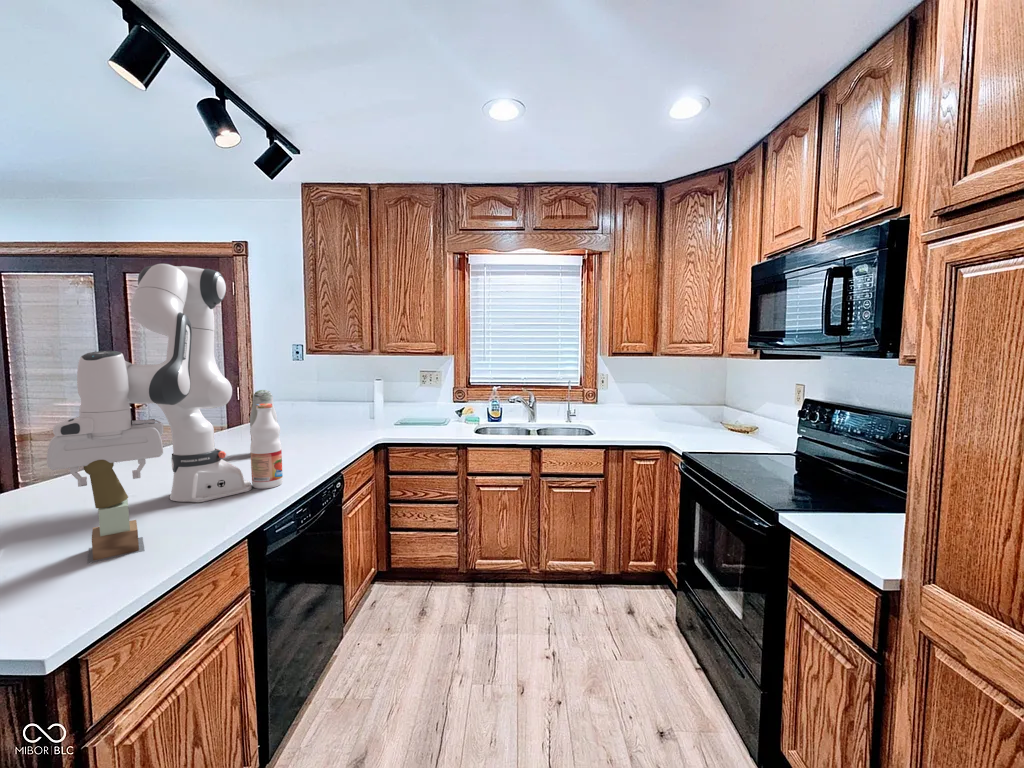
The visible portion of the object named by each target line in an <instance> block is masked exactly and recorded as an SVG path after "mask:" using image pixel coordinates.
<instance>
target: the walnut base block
mask: <svg viewBox="0 0 1024 768" xmlns="http://www.w3.org/2000/svg"><path fill="white" fill-rule="evenodd" d="M129 523H130V531H125V532H120V533H115V534H110V535H105V536H100V527H99V526H95V527H92V532H91V548H92V550H93V561H94V560H99V559H103V558H108V557H112V556H117V555H121V554H126V553H130V552H135V551H139V543H138V538H139V531H138V522H137V519H133V520H129Z"/></svg>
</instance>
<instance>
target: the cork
mask: <svg viewBox="0 0 1024 768" xmlns="http://www.w3.org/2000/svg"><path fill="white" fill-rule="evenodd" d="M114 464H115V463H109V462H108V461H106V460H97V461H93V462H91V463H89V464H88V465H87V466H83V471H84V472H85V473H86V474H87V475H89V477H90V478H89V479H90V484H91V488H92V489H91V490H92V496H93V502H94V507H95V509H98V508H106V507H109V506H113V505H116V504H118V503H121V502H123V501H124V500H126V499H128V498H129V496H128V494H127V492H126V490H125V488H124V487H123V485H122V483H121V481H120V480H119V478H118V476H117V474H116V473H115V471H114V469H113V467H114V466H115V465H114Z"/></svg>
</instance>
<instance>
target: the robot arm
mask: <svg viewBox="0 0 1024 768" xmlns="http://www.w3.org/2000/svg"><path fill="white" fill-rule="evenodd" d="M137 284H138V285H137V287H136V290H135V291H134V294H133V296H132V298H131V303H130V312H131V315H132V317H133V318H134V320H135V321H136V322H137V323H138V324H140V325H141V326H142V327H143V328H145V329H146V330H148V331H151V332H153V333H156V334H160V335H163V336H165V337H167V338H168V339H167V350H166V358H165V360H164V361H163V362H161V363H157V364H137V363H134V364H133V363H131V362H129V361H127V360H125V357H124V354H123V353H122V352H121V351H116V350H99V351H92V352H91V351H90V352H87V353H84V354H83V355H81V356H80V358H79V360H78V364H77V371H76V381H77V386H76V387H77V394H78V395H79V399H80V404H79V405H80V406H79V409H78V410H79V412H78V413H79V416H78V417H77V416H76V417H74V418H69V419H67V420H64V421H61V422H59V423H56V424H55V425H54V426H53V427H52V433H53V435H54V436H53V437H52V438H51V439H50V441H49V443H48V447H47V453H46V467H47V468H49V469H50V470H52V471H57V470H63V469H65V470H66V469H69V473H70V474H71V476H73V477H74V479H76V480H77V487H85V486H88V478H87V476H82V475H80V473H79V471H80V468H81V467H84V466H87V465H88V464H89V463H91V462H93V461H97V460H106V461H108V462H109V463H114V464H115V463H124V462H128V461H129V462H130V461H137V463H138V467H137V468H136V469H134V470H132V479H133V480H136V479H141V477H142V476H141V475H142V474H141V471H142V470H143V468H144V467H145V465H146V463H147V461H146V460H147V459H153V458H154V459H156V458H161V456H162V455H163V454H164V445H163V441H162V436H163V435H164V431H165V430H164V424H163V422H161V420H156V418H149V419H136V420H135V419H134V420H132V414H131V404H137V405H138V404H141V405H142V404H155V405H157V406H158V407H159V408H160V409H161V411H162V413H164V416H165V417H166V420H167V422H168V425H169V429H170V433H171V441H172V442H171V443H172V453H171V458H170V459H171V470H172V471H173V476H172V477H173V479H172V486H171V492H170V496H169V499H170V500H171V501H174V502H184V503H185V502H190V503H204V502H207V501H212V500H216V499H220V498H225V497H229V496H232V495H237V494H242V493H246V492H249V491H251V490H252V488H253V486H252V482H250V481H249V480H247V479H244V475H243V472H242V469H240V468H239V467H238V466H236V465H234V464H232V463H230V462H228V461H227V460H224V459H225V458H226V456H227V453H226V452H225V451H223V450H221V449H218V448H215V444H216V443H215V428H214V427H215V426H214V425H213V424H212V423H211V422H210V421H209V420H208V419H207V418H205V416H204V415H203V414H202V411H201V409H202V410H211V409H217V408H221V407H224V406H226V405H228V403H230V400H231V399H232V395H233V387H232V384H231V382H230V381H229V379H227V378H226V377H225V376H224V375H223V374H222V372H221V371H220V368H219V366H218V365H217V361H216V357H215V331H216V329H215V328H216V327H215V326H216V324H215V315H214V314H215V312H214V309H215V308H216V306H217V305H220V303H221V302H222V301H223V300H224V299H225V296H226V292H227V284H226V280H225V278H224V276H223V274H221V272H219V271H217V270H214V269H212V268H200V267H195V266H187V265H181V266H180V265H179V266H178V265H177V266H175V265H172V264H169V263H157V264H154V265H149V266H145V267H144V268H142V270H140V272H139V274H138V276H137Z"/></svg>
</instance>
